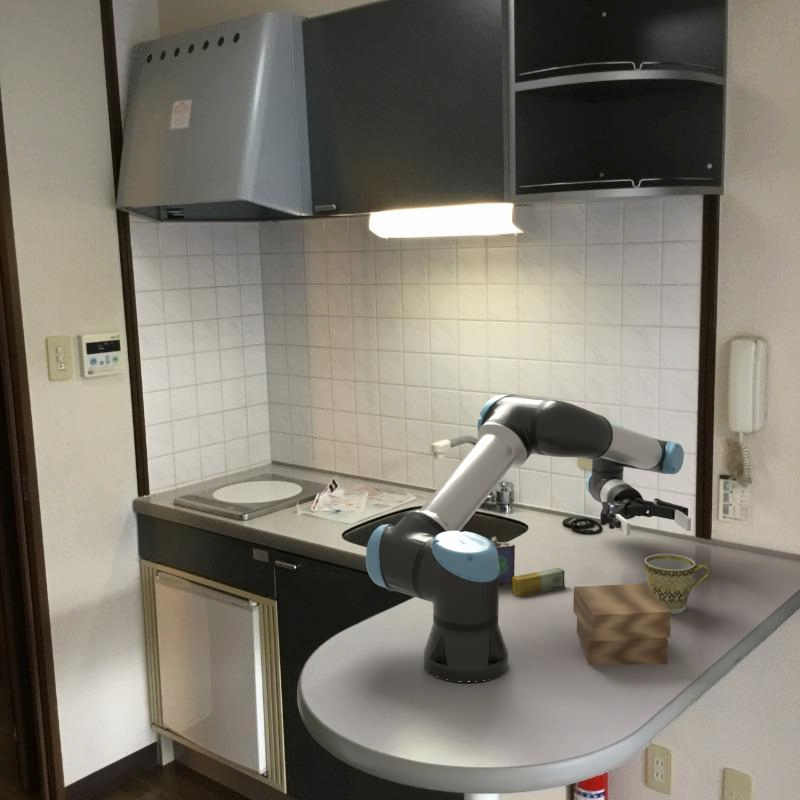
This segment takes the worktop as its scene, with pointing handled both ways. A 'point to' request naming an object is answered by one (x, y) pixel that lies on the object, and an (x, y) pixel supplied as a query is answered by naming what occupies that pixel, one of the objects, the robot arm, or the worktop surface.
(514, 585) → the medication box
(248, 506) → the worktop surface
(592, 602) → the tower top block
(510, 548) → the flask
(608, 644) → the tower bottom block
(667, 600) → the ceramic cup
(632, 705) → the worktop surface
